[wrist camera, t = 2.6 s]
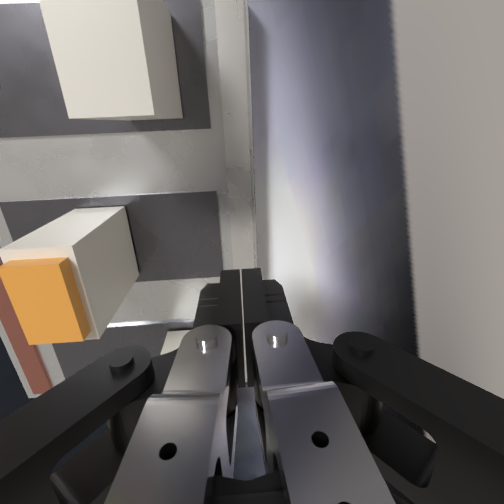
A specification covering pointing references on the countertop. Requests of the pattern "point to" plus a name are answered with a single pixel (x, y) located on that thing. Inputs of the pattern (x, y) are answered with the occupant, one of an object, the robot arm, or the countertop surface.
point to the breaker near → (114, 58)
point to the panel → (132, 178)
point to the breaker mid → (70, 275)
